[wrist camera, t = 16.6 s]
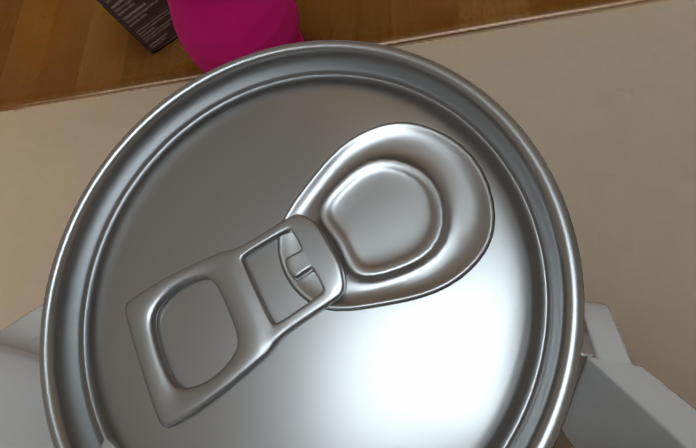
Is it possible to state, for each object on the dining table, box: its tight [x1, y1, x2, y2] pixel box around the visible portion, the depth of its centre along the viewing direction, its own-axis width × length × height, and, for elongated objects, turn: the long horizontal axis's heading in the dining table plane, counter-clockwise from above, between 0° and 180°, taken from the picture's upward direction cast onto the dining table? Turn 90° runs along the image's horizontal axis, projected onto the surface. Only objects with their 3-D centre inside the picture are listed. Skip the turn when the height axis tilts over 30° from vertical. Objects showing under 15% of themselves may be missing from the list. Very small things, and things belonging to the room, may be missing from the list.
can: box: [39, 40, 585, 448], centre depth 9 cm, size 6×6×12 cm
